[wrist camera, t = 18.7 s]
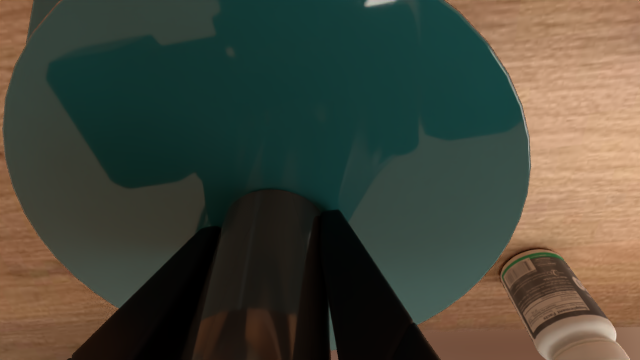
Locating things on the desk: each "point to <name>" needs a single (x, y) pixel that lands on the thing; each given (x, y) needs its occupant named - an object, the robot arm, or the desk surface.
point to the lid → (267, 154)
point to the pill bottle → (558, 309)
